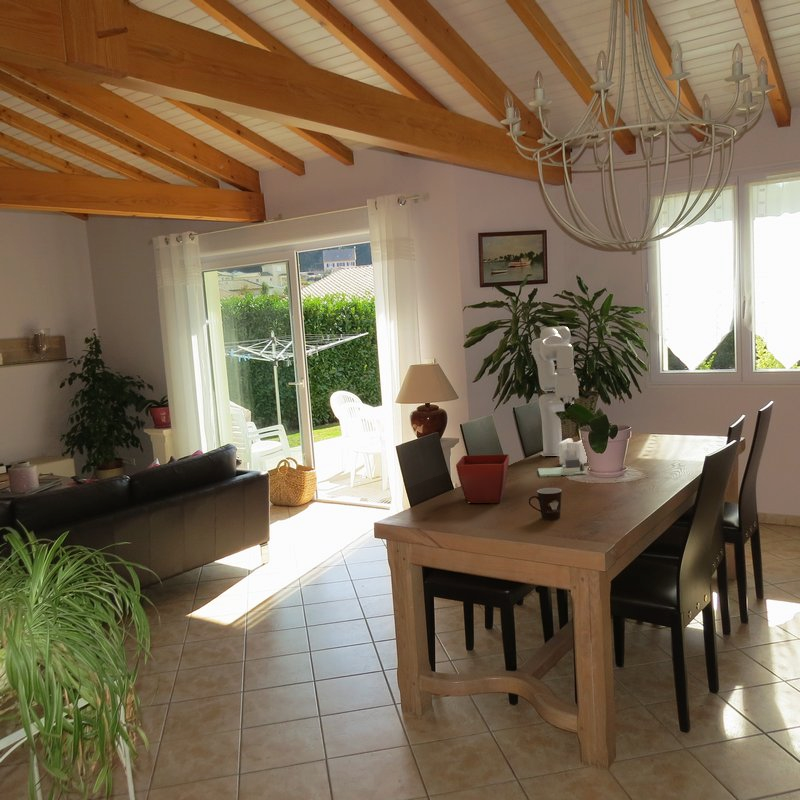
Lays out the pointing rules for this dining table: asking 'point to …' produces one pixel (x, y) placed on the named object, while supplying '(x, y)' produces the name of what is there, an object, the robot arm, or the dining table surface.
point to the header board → (561, 470)
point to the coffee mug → (549, 503)
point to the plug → (572, 463)
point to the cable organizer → (571, 451)
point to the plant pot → (483, 477)
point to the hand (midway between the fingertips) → (568, 411)
